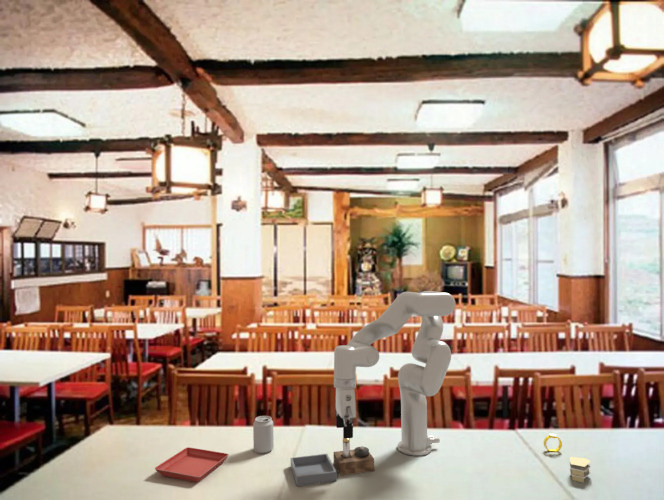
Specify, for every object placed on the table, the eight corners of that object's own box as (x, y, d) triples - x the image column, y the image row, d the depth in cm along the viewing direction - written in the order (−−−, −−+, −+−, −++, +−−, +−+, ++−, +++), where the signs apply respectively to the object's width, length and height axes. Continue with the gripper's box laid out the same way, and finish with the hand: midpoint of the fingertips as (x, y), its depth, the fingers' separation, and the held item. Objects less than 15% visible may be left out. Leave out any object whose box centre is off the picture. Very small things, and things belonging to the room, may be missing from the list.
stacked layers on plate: (595, 488, 141) (594, 471, 141) (562, 481, 146) (562, 464, 146) (596, 475, 150) (596, 458, 150) (565, 468, 154) (565, 452, 154)
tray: (327, 462, 161) (327, 453, 161) (336, 481, 148) (336, 471, 148) (290, 466, 158) (290, 457, 158) (296, 486, 145) (296, 476, 145)
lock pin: (349, 465, 158) (348, 436, 158) (350, 469, 156) (350, 439, 156) (342, 466, 158) (341, 437, 158) (344, 469, 155) (343, 440, 155)
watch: (546, 452, 166) (545, 436, 166) (542, 449, 169) (542, 433, 169) (562, 452, 166) (562, 436, 166) (559, 449, 169) (559, 433, 169)
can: (269, 455, 168) (269, 422, 168) (250, 453, 169) (250, 421, 169) (276, 446, 175) (275, 415, 175) (257, 445, 176) (257, 414, 177)
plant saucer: (229, 462, 163) (229, 453, 163) (199, 486, 146) (199, 476, 146) (187, 455, 169) (187, 446, 169) (153, 478, 152) (153, 468, 152)
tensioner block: (366, 459, 163) (366, 441, 163) (374, 470, 154) (374, 452, 154) (333, 463, 160) (333, 445, 160) (340, 475, 152) (339, 456, 152)
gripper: (362, 388, 149) (362, 441, 149) (348, 375, 166) (348, 422, 166) (340, 389, 148) (339, 443, 147) (328, 376, 164) (328, 424, 164)
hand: (344, 432), depth 156 cm, fingers open, 9 cm apart
